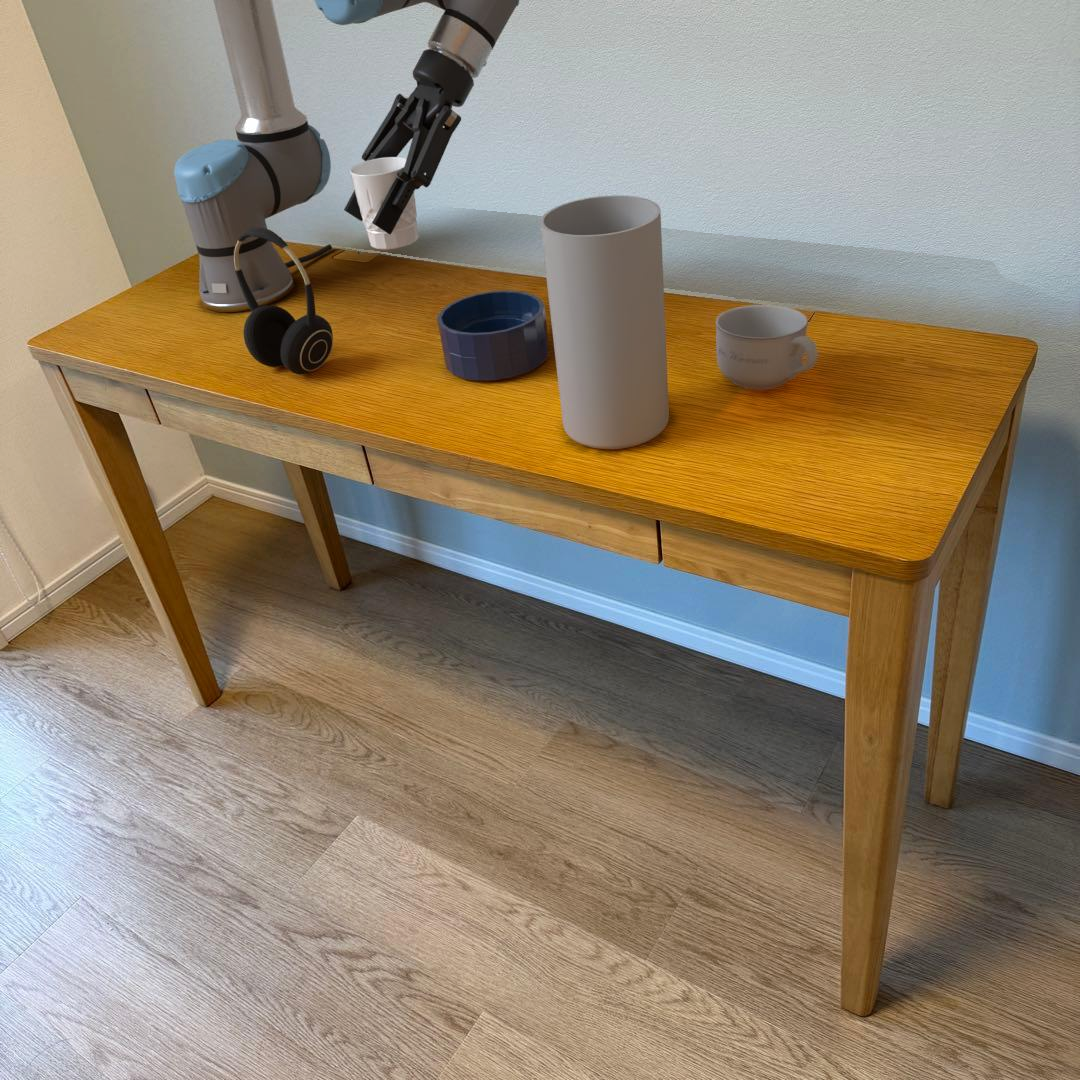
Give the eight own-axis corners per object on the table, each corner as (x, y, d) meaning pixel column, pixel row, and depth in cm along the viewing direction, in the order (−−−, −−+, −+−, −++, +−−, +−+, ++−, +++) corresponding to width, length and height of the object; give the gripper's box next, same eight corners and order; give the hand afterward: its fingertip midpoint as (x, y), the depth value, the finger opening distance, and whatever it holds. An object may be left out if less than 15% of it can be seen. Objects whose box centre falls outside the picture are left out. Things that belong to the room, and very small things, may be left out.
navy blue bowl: (457, 339, 144) (449, 293, 139) (555, 335, 141) (550, 287, 137) (436, 386, 132) (427, 337, 128) (542, 381, 130) (536, 331, 126)
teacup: (699, 374, 127) (698, 314, 122) (772, 351, 129) (774, 292, 125) (761, 419, 116) (763, 356, 111) (840, 393, 119) (844, 330, 114)
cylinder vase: (542, 434, 119) (515, 225, 104) (607, 390, 126) (591, 190, 111) (625, 463, 111) (609, 243, 97) (690, 415, 118) (684, 204, 104)
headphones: (310, 390, 135) (271, 246, 124) (240, 371, 143) (196, 233, 131) (355, 364, 141) (321, 223, 129) (284, 346, 148) (246, 212, 137)
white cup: (393, 228, 140) (379, 154, 135) (435, 234, 136) (422, 159, 130) (353, 247, 136) (337, 172, 130) (395, 254, 131) (380, 177, 126)
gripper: (514, 90, 125) (425, 253, 128) (432, 73, 140) (354, 220, 142) (472, 53, 120) (380, 224, 123) (392, 39, 134) (311, 192, 137)
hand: (366, 221), depth 132 cm, fingers closed on white cup, 8 cm apart
